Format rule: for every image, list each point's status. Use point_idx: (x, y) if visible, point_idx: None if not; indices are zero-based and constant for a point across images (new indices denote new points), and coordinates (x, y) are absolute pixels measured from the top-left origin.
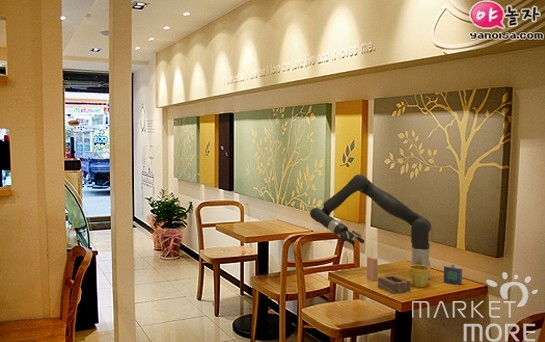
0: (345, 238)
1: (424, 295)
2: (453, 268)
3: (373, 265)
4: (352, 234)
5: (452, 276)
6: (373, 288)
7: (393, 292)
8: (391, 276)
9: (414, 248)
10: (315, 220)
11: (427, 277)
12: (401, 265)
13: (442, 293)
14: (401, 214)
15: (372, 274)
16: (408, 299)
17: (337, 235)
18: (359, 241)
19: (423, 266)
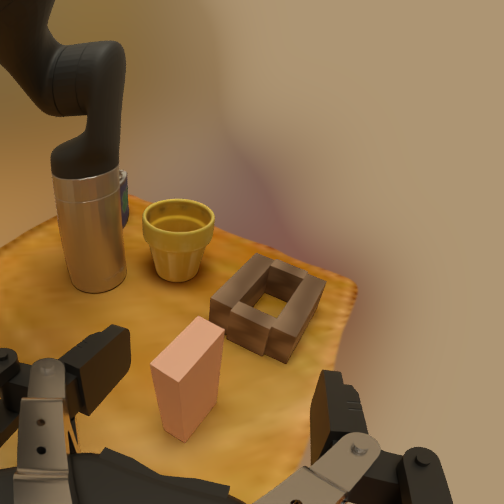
0: (426, 461)
1: (264, 252)
2: (125, 179)
3: (220, 358)
4: (68, 460)
5: (126, 201)
6: (315, 370)
7: (318, 303)
8: (241, 302)
9: (104, 172)
10: None
11: (182, 227)
12: None
13: (218, 229)
14: (44, 25)
15: (213, 393)
16: (325, 273)
17: None
18: (104, 394)
19: (149, 211)
